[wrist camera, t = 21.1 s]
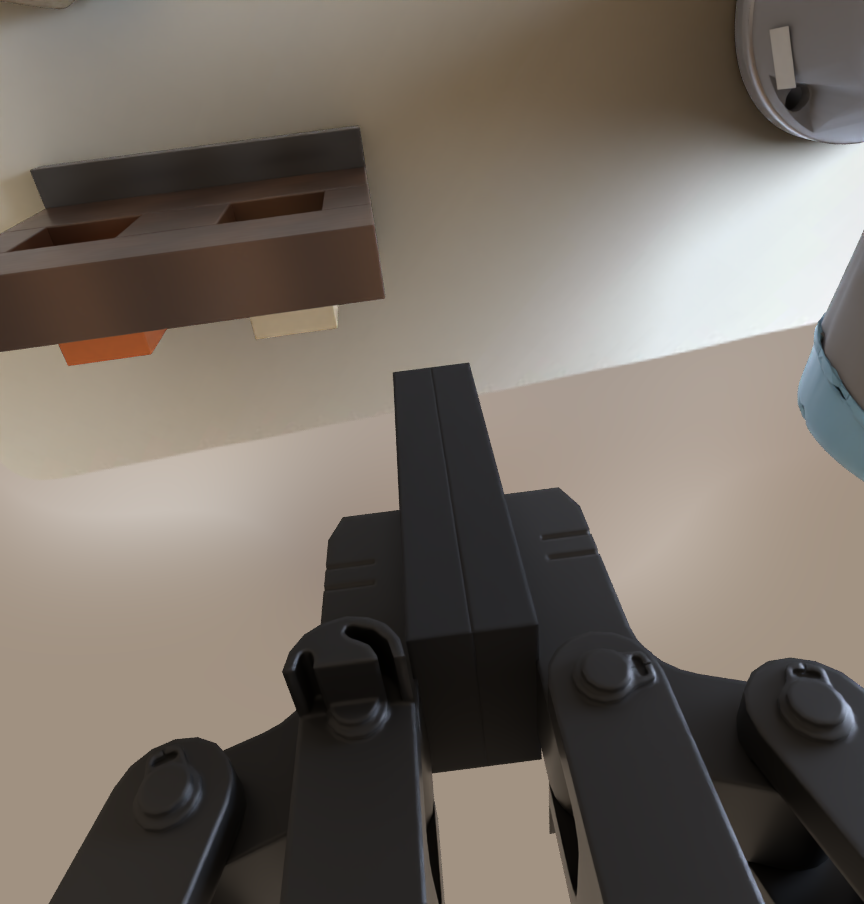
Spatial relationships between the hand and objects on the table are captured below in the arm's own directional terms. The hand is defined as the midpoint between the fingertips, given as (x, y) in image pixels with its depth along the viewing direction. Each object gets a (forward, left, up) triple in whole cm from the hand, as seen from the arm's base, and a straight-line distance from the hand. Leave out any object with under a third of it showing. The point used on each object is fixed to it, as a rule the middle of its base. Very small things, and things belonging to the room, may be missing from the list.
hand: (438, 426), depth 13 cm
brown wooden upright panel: (+10, +1, -30) cm, 31 cm away
